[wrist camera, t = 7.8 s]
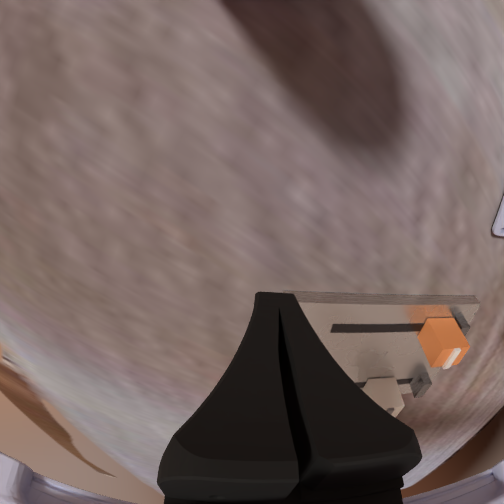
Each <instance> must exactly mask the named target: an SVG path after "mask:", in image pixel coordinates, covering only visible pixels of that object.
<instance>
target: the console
mask: <svg viewBox="0 0 504 504" xmlns="http://www.w3.org/2000/svg"><path fill="white" fill-rule="evenodd" d="M283 293H293V294H294V295H295V296H296V299H297V301H298V303H299V305H300V307H301V308H302V310H303V312H304V314H305V316H306V317H307V319H308V321H309V323H310V324H311V326H312V328H313V329H314V331H315V332H316V334H317V335H318V337H319V339H320V340H321V342H322V343H323V344H324V346H325V347H326V349H327V350H328V351H329V353H330V354H331V356H332V357H333V358H334V359H335V361H336V362H337V363H338V364H339V366H340V367H341V368H342V369H343V370H344V372H345V373H346V374H347V375H348V376H349V377H350V378H351V379H352V380H353V381H354V382H355V384H356V385H357V386H358V387H359V388H360V389H363V387H364V386H365V384H366V382H367V381H368V379H378V378H391V377H395V378H396V381H397V384H398V387H399V390H400V393H401V394H406V393H413V395H414V398H417V397H422V396H423V395H424V394H425V392H426V391H427V390H428V388H429V387H430V386H431V385H432V382H431V381H432V379H433V378H434V377H435V375H436V374H437V373H438V371H439V370H440V368H441V367H433V368H431V367H430V364H429V362H428V360H427V358H426V355H425V353H424V351H423V349H422V346H421V344H420V342H419V340H418V338H417V337H418V335H419V333H420V331H421V329H422V328H423V326H424V324H425V322H426V320H427V319H429V318H454V319H455V321H456V323H457V324H458V326H459V328H460V330H461V331H462V333H463V335H464V337H465V335H466V334H467V332H468V330H469V329H470V326H469V324H470V322H471V320H472V319H473V317H474V315H475V313H476V312H477V310H478V308H479V306H480V305H481V304H480V302H479V301H478V299H477V298H476V297H475V296H432V295H379V294H347V293H321V292H299V291H283Z"/></svg>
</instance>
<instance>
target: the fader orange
mask: <svg viewBox="0 0 504 504" xmlns="http://www.w3.org/2000/svg"><path fill="white" fill-rule="evenodd" d="M417 338H418V340H419V342H420V344H421V346H422V349H423V351H424V353H425V355H426V358H427V360H428V362H429V364H430V367H431V368H433V367H443V369H448V368H449V367H450V366H451V365H457V364H458V363H459V362H460V361H461V359H462V358H463V356H464V355H465V353H466V352H467V350H468V349H469V347H470V346H469V344H468V342H467V340H466V338H465V337H464V335H463V333H462V331H461V330H460V328H459V326H458V324H457V323H456V321H455V319H454V318H429V319H427V320H426V322H425V324H424V326H423V328H422V329H421V331H420V333H419V335H418V337H417Z"/></svg>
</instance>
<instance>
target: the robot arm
mask: <svg viewBox="0 0 504 504" xmlns="http://www.w3.org/2000/svg"><path fill="white" fill-rule="evenodd" d="M492 232H493V233H494V234H495V235H498V236H504V196H503V199H502V202H501V205H500V208H499V211H498V214H497V216H496V219H495V222H494V225H493V227H492ZM421 459H422V454H421V450H420V446H419V443H418V440H417V438H416V435H415V433H414V430H413V429H411V428H410V427H408V426H407V425H405V424H404V423H402V422H401V421H399V420H398V419H396V418H395V417H393V416H392V415H391V414H389V413H388V412H387V411H385V410H384V409H383V408H382V407H380V406H379V405H378V404H377V403H376V402H374V401H373V400H372V399H371V398H370V397H369V396H368V395H367V394H366V393H365V392H364V391H363V390H362V389H360V388H359V387H358V386H357V385H356V384H355V382H354V381H353V380H352V379H351V378H350V377H349V376H348V375H347V374H346V373H345V372H344V370H343V369H342V368H341V367H340V366H339V364H338V363H337V362H336V361H335V359H334V358H333V357H332V356H331V354H330V353H329V351H328V350H327V349H326V347H325V346H324V344H323V343H322V342H321V340H320V339H319V337H318V335H317V334H316V332H315V331H314V329H313V328H312V326H311V324H310V323H309V321H308V319H307V317H306V316H305V314H304V312H303V310H302V308H301V307H300V305H299V303H298V301H297V299H296V296H295V295H294V294H293V293H274V292H258V293H256V294H255V302H254V310H253V313H252V317H251V320H250V322H249V325H248V328H247V330H246V333H245V335H244V337H243V340H242V342H241V344H240V346H239V348H238V350H237V352H236V354H235V356H234V358H233V360H232V361H231V363H230V365H229V366H228V368H227V370H226V371H225V373H224V375H223V376H222V377H221V379H220V380H219V382H218V383H217V385H216V386H215V388H214V389H213V391H212V392H211V393H210V395H209V396H208V397H207V398H206V399H205V401H204V402H203V403H202V404H201V406H200V407H199V408H198V409H197V410H196V412H195V413H194V414H193V415H192V416H191V417H190V418H189V419H188V420H187V421H186V422H185V423H184V424H183V425H182V426H181V427H180V428H179V430H178V431H177V432H176V433H175V434H174V435H173V437H172V439H171V440H170V442H169V444H168V446H167V448H166V450H165V452H164V454H163V456H162V459H161V462H160V465H159V471H158V477H157V484H158V486H159V487H160V489H161V490H162V492H163V493H164V494H165V500H164V504H504V459H503V460H501V461H500V462H498V463H497V464H496V465H494V466H493V467H492V468H491V469H489V470H486V471H484V472H482V473H480V474H477V475H474V476H472V477H469V478H467V479H464V480H462V481H459V482H456V483H453V484H450V485H447V486H445V487H441V488H439V489H435V490H432V491H429V492H425V493H422V494H418V495H415V496H411V497H407V498H403V499H402V495H401V490H400V488H402V487H403V486H404V483H403V478H402V476H403V475H405V474H406V473H408V472H409V471H410V470H411V469H413V468H414V467H415V466H416V465H417V464H418V463H419V462H420V461H421ZM0 504H135V503H131V502H127V501H123V500H118V499H114V498H110V497H106V496H103V495H99V494H95V493H92V492H89V491H85V490H82V489H79V488H76V487H73V486H70V485H67V484H64V483H61V482H59V481H56V480H53V479H51V478H48V477H45V476H43V475H40V474H38V473H35V472H33V470H32V469H31V468H29V467H28V466H27V465H25V464H24V463H22V462H20V461H18V460H16V459H14V458H12V457H10V456H8V455H6V454H4V453H2V452H0Z"/></svg>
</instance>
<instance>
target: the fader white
mask: <svg viewBox="0 0 504 504" xmlns="http://www.w3.org/2000/svg"><path fill="white" fill-rule="evenodd" d="M362 390H363V391H364V392H365V393H366V394H367V395H368V396H369V397H370V398H371V399H372V400H373V401H374V402H376V403H377V404H378V405H379V406H380V407H382V408H383V409H384V410H385V411H387V412H388V413H389V414H391V415H392V416H393V417H396V416H397V415H398V414H399V412H400V411H401V410H402V409H403V408H404V406H405V405H404V402H403V399H402V396H401V393H400V390H399V387H398V384H397V381H396V378H395V377H391V378H378V379H368V381H367V382H366V384H365V386H364V387H363V389H362Z"/></svg>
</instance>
